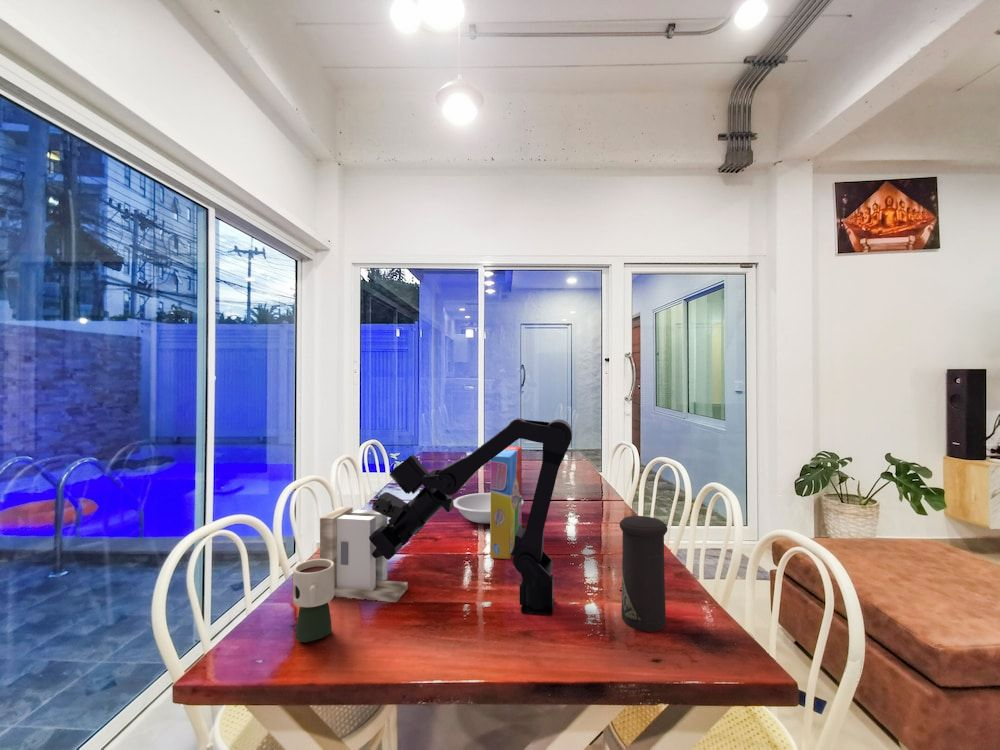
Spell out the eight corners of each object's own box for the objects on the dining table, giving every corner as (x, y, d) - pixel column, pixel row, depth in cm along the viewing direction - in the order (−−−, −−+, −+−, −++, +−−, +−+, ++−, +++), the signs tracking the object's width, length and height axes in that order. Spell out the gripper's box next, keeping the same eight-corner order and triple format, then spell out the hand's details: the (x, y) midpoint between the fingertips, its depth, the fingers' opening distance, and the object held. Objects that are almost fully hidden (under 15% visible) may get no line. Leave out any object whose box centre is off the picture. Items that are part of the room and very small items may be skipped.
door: (375, 587, 104) (375, 516, 104) (369, 593, 100) (369, 520, 101) (342, 584, 105) (343, 514, 105) (335, 590, 102) (335, 518, 102)
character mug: (295, 624, 89) (295, 557, 89) (334, 618, 91) (334, 552, 91) (290, 656, 79) (290, 580, 79) (334, 648, 81) (334, 574, 81)
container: (630, 605, 96) (630, 510, 97) (674, 619, 91) (673, 518, 91) (612, 622, 90) (612, 519, 90) (658, 638, 84) (657, 529, 84)
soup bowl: (443, 515, 161) (443, 496, 161) (505, 507, 171) (505, 490, 171) (467, 536, 139) (467, 515, 139) (536, 526, 149) (536, 505, 149)
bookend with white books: (413, 582, 108) (413, 509, 108) (396, 602, 98) (396, 522, 98) (342, 576, 111) (342, 506, 111) (319, 595, 101) (319, 518, 101)
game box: (510, 560, 121) (509, 457, 121) (489, 558, 122) (489, 456, 122) (522, 534, 141) (521, 445, 141) (504, 533, 142) (504, 445, 142)
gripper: (412, 473, 111) (369, 516, 112) (378, 492, 92) (328, 543, 94) (443, 507, 109) (399, 551, 111) (415, 533, 91) (363, 585, 93)
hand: (374, 556), depth 102 cm, fingers closed
